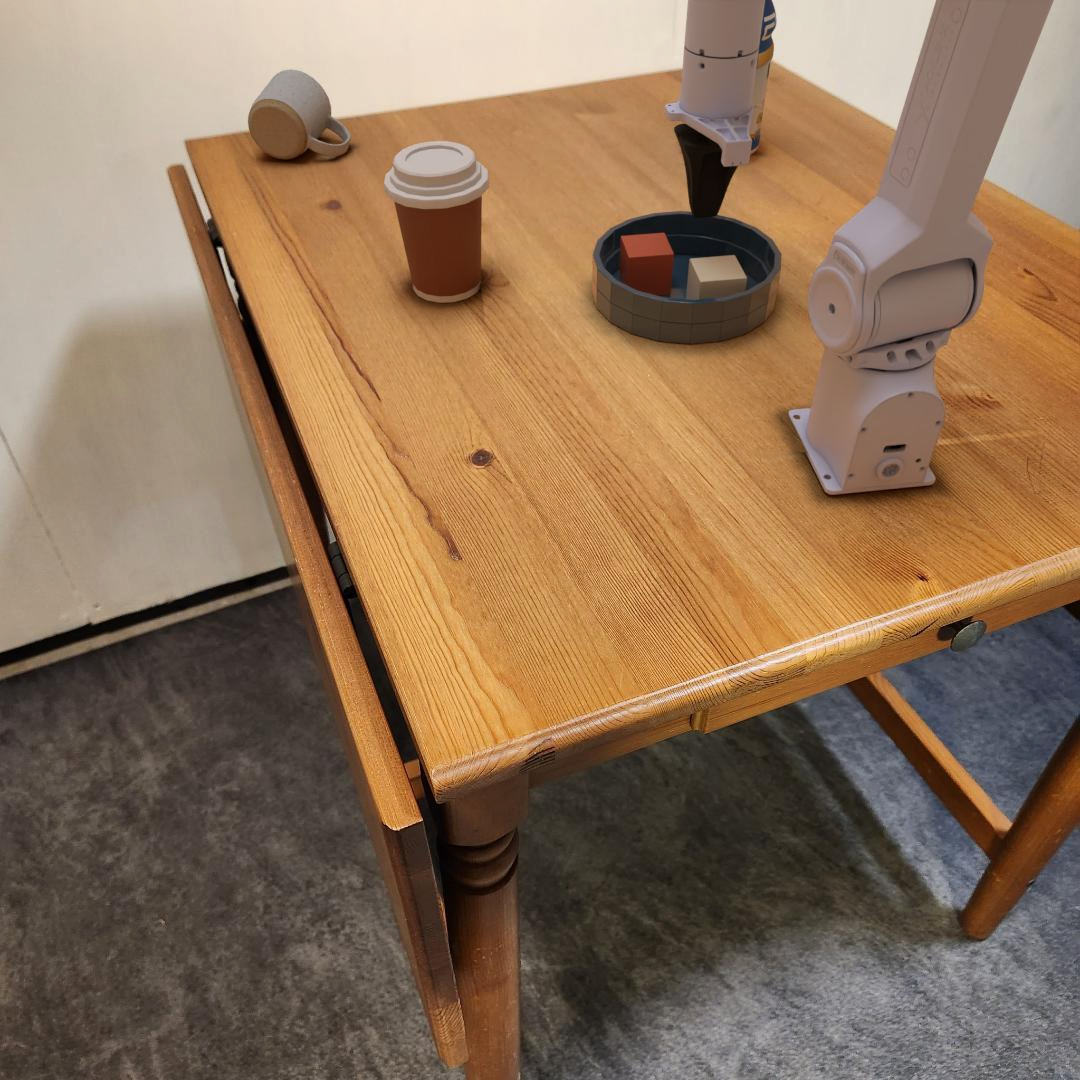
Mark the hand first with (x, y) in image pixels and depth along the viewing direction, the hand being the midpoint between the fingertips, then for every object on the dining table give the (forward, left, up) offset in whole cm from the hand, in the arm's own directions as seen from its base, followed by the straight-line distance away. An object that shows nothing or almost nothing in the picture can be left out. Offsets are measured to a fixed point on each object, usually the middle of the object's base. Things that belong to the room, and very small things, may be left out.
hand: (703, 213), depth 82 cm
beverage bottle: (+29, -10, -7) cm, 32 cm away
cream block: (-6, 0, -6) cm, 8 cm away
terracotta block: (-1, +5, -6) cm, 8 cm away
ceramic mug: (+37, +38, -7) cm, 54 cm away
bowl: (-3, +2, -7) cm, 7 cm away
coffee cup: (+3, +23, -7) cm, 24 cm away
